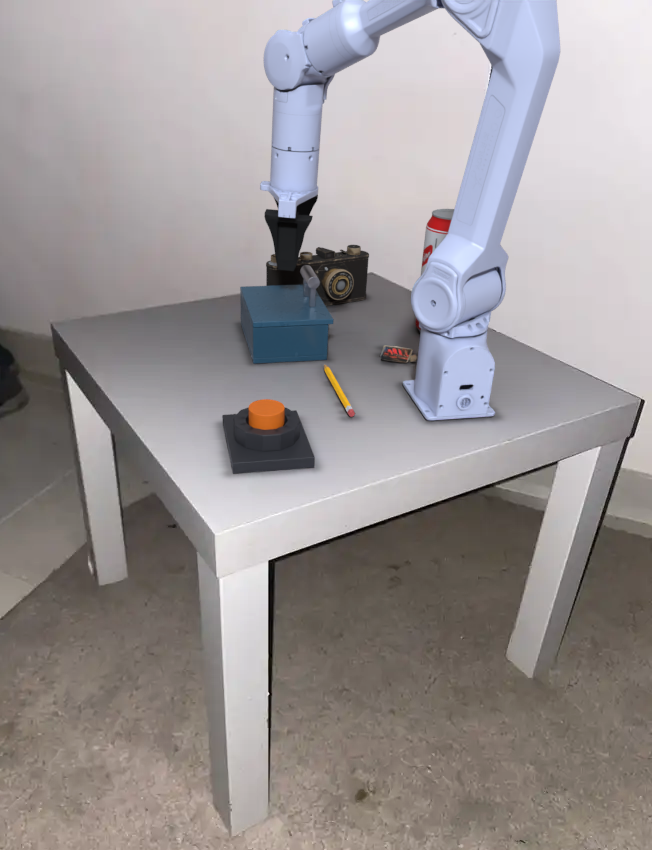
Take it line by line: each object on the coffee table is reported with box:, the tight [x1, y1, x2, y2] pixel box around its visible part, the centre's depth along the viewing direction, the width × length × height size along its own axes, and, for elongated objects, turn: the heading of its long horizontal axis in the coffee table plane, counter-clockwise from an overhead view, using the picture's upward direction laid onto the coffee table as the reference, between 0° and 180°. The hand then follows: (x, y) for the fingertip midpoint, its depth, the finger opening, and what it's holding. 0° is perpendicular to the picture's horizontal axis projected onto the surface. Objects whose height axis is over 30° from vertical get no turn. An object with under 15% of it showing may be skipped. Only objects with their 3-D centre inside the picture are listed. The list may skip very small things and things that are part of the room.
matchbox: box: [380, 345, 418, 363], centre depth 99 cm, size 5×5×1 cm
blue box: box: [239, 292, 330, 364], centre depth 101 cm, size 9×13×5 cm
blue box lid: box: [239, 265, 334, 327], centre depth 99 cm, size 10×13×5 cm
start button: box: [248, 398, 286, 430], centre depth 77 cm, size 4×4×2 cm
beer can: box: [415, 208, 455, 333], centre depth 103 cm, size 6×6×16 cm
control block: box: [222, 406, 316, 475], centre depth 78 cm, size 10×8×3 cm
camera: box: [265, 244, 370, 307], centre depth 113 cm, size 16×7×8 cm, turn 117°
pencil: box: [323, 363, 356, 418], centre depth 90 cm, size 1×13×1 cm, turn 12°
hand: (289, 259), depth 99 cm, fingers open, 7 cm apart
